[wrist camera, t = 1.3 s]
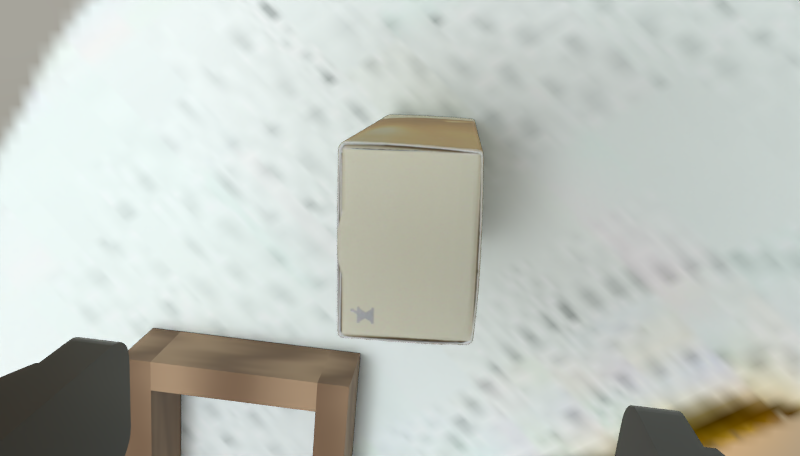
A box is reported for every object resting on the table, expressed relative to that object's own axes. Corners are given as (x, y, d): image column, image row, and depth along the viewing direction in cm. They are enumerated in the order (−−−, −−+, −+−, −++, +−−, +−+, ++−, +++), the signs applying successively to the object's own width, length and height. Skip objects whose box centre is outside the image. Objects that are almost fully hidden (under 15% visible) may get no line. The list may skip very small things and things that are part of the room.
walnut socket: (360, 353, 34) (349, 386, 30) (345, 532, 37) (334, 580, 33) (153, 328, 34) (119, 358, 31) (155, 505, 37) (124, 550, 34)
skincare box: (469, 244, 32) (475, 358, 20) (380, 240, 32) (334, 349, 20) (477, 110, 30) (489, 147, 18) (383, 107, 30) (335, 141, 19)
